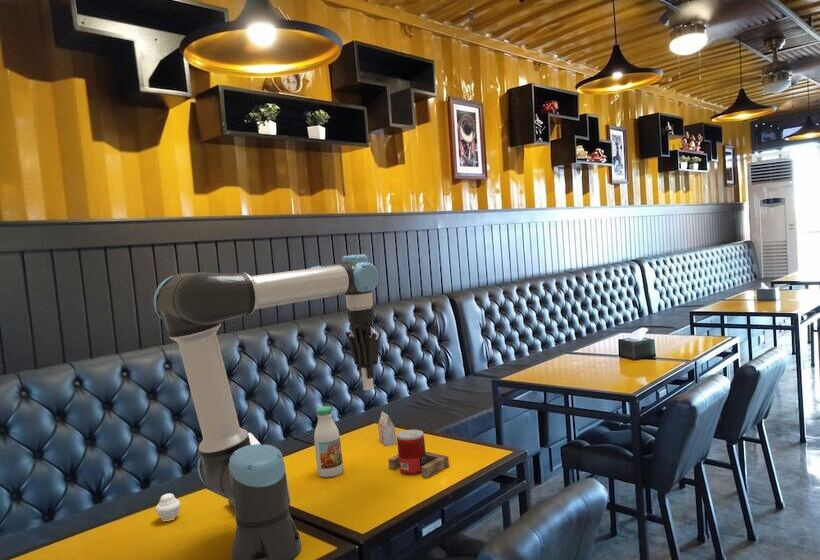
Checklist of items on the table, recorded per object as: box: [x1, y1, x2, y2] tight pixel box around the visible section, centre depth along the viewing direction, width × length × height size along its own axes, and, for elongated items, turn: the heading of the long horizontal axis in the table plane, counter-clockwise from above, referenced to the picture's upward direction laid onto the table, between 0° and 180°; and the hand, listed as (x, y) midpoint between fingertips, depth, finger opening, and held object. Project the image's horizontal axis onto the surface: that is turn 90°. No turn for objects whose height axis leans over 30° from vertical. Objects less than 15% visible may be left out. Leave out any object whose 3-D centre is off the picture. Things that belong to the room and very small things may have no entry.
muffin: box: [155, 492, 181, 521], centre depth 156 cm, size 6×6×7 cm
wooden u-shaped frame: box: [388, 451, 450, 479], centre depth 175 cm, size 10×15×3 cm, turn 48°
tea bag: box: [377, 411, 397, 447], centre depth 200 cm, size 4×7×10 cm, turn 22°
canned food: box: [396, 429, 427, 476], centre depth 173 cm, size 8×8×11 cm
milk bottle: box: [313, 405, 344, 478], centre depth 177 cm, size 8×8×20 cm
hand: (368, 389), depth 170 cm, fingers closed
